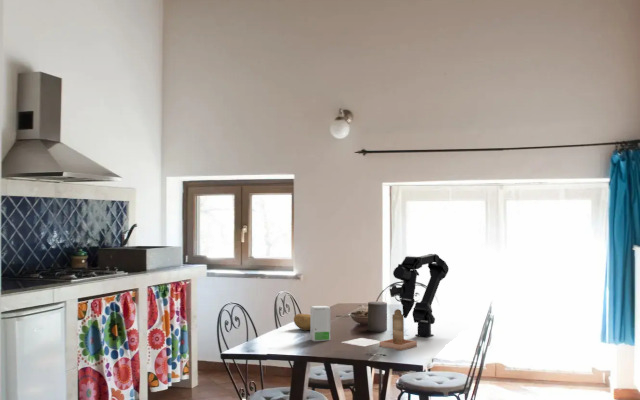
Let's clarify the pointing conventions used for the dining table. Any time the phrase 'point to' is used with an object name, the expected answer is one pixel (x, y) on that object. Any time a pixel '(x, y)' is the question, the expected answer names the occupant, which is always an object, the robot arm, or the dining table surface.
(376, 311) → the pillar candle
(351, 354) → the dining table surface
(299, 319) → the potato
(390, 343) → the terracotta dish
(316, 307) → the skincare box
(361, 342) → the felt mat
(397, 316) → the pepper mill
